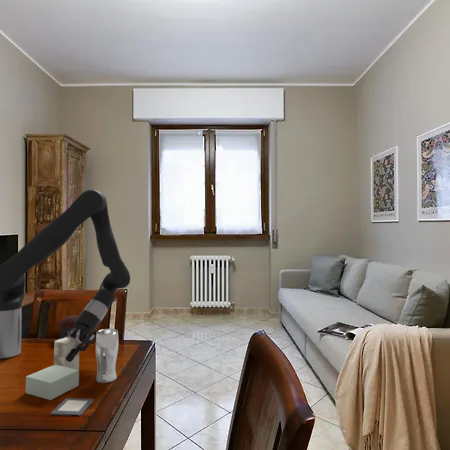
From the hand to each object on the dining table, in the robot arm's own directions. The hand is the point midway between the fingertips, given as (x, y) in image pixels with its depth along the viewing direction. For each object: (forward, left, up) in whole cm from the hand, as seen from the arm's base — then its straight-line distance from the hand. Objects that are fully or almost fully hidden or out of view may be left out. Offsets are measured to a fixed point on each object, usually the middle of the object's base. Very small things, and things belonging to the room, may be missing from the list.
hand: (61, 358), depth 117 cm
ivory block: (+1, +2, -4) cm, 5 cm away
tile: (+15, -22, -4) cm, 27 cm away
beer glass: (+17, -4, -4) cm, 18 cm away
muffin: (-12, +33, -5) cm, 35 cm away
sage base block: (+4, -12, -5) cm, 14 cm away
